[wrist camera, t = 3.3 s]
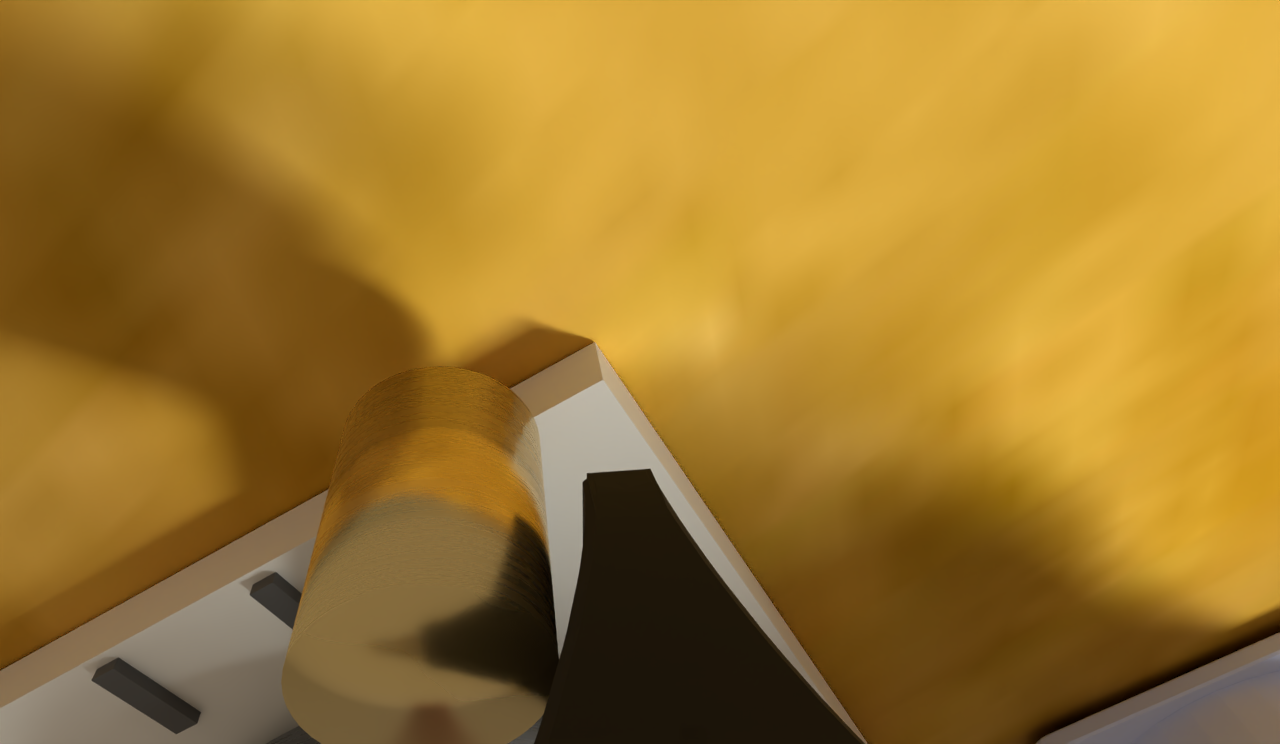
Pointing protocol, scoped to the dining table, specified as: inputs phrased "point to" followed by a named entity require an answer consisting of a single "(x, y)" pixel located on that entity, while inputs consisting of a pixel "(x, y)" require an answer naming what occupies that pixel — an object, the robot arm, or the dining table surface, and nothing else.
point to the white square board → (274, 580)
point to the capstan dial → (428, 574)
